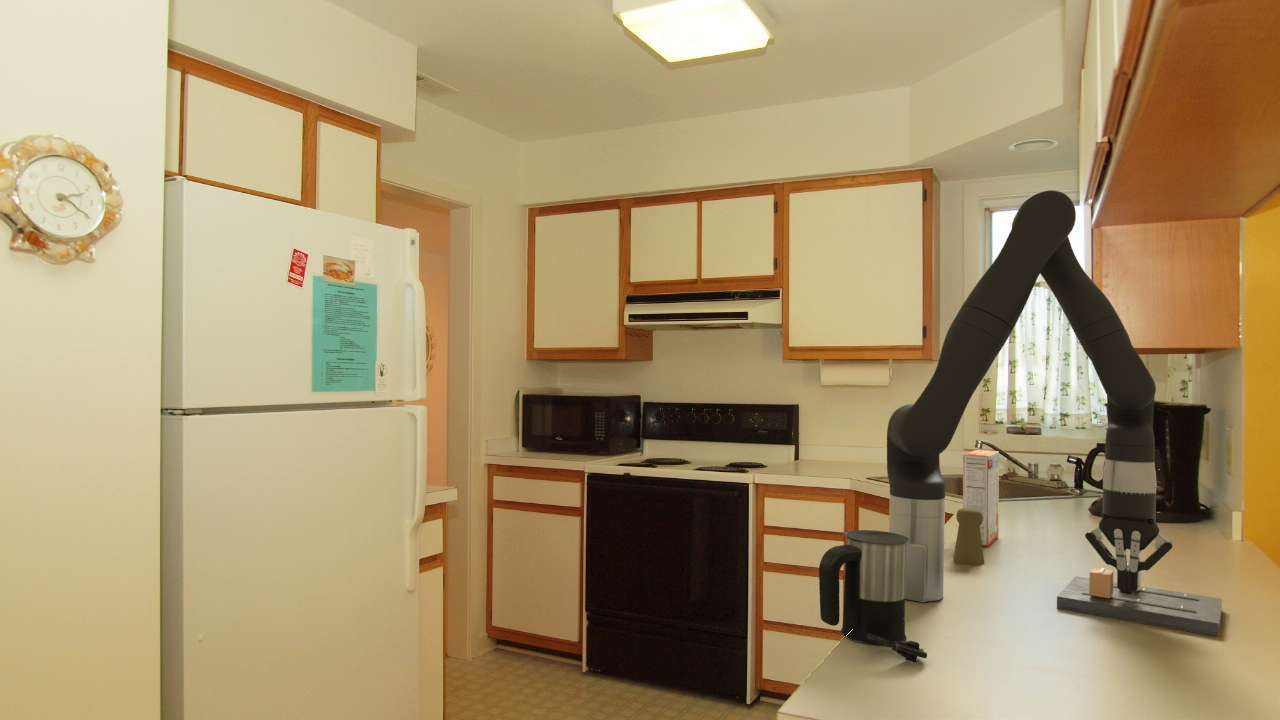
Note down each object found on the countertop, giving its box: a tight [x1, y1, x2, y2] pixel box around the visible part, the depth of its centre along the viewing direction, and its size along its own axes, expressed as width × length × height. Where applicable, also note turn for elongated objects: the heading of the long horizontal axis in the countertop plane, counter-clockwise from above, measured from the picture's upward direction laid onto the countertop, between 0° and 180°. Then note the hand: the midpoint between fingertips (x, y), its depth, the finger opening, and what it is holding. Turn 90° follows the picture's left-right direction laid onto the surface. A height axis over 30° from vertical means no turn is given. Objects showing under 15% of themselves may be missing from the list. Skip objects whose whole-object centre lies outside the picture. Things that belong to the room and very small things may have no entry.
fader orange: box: [1089, 567, 1114, 598], centre depth 136 cm, size 4×3×4 cm
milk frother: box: [818, 529, 928, 663], centre depth 114 cm, size 14×16×15 cm
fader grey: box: [1127, 562, 1142, 591], centre depth 141 cm, size 4×3×4 cm
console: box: [1056, 575, 1223, 638], centre depth 136 cm, size 18×22×2 cm
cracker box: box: [962, 449, 1000, 547], centre depth 191 cm, size 14×6×21 cm, turn 147°
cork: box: [953, 507, 985, 566], centre depth 169 cm, size 6×6×11 cm
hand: (1127, 593), depth 134 cm, fingers closed
